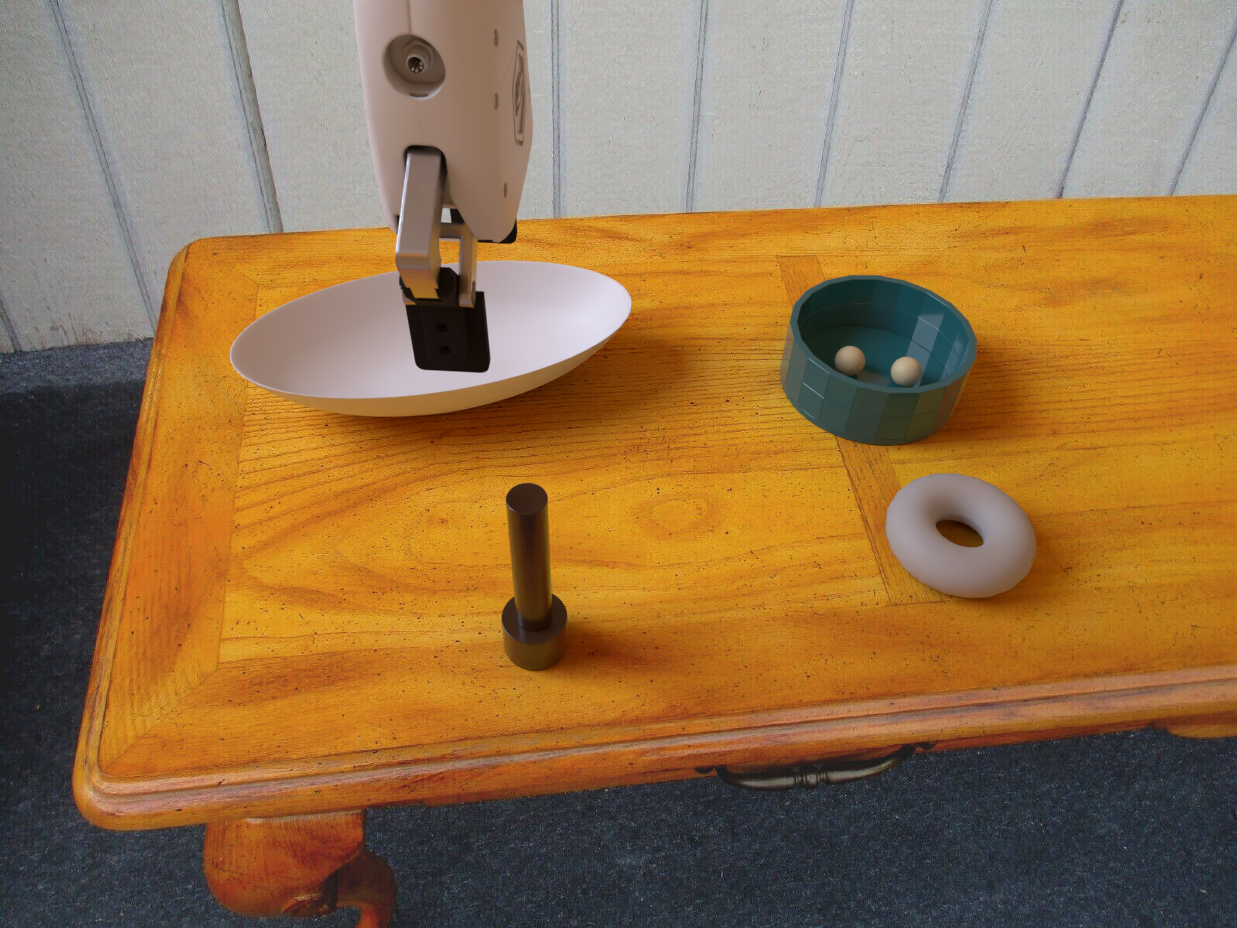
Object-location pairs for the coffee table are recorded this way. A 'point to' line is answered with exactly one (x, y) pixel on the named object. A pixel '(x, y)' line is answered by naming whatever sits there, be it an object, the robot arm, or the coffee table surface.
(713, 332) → the coffee table surface
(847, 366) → the chickpea
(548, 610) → the muddler
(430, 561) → the coffee table surface
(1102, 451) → the coffee table surface
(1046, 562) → the coffee table surface
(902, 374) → the chickpea
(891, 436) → the mixing bowl
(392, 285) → the bowl
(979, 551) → the donut
